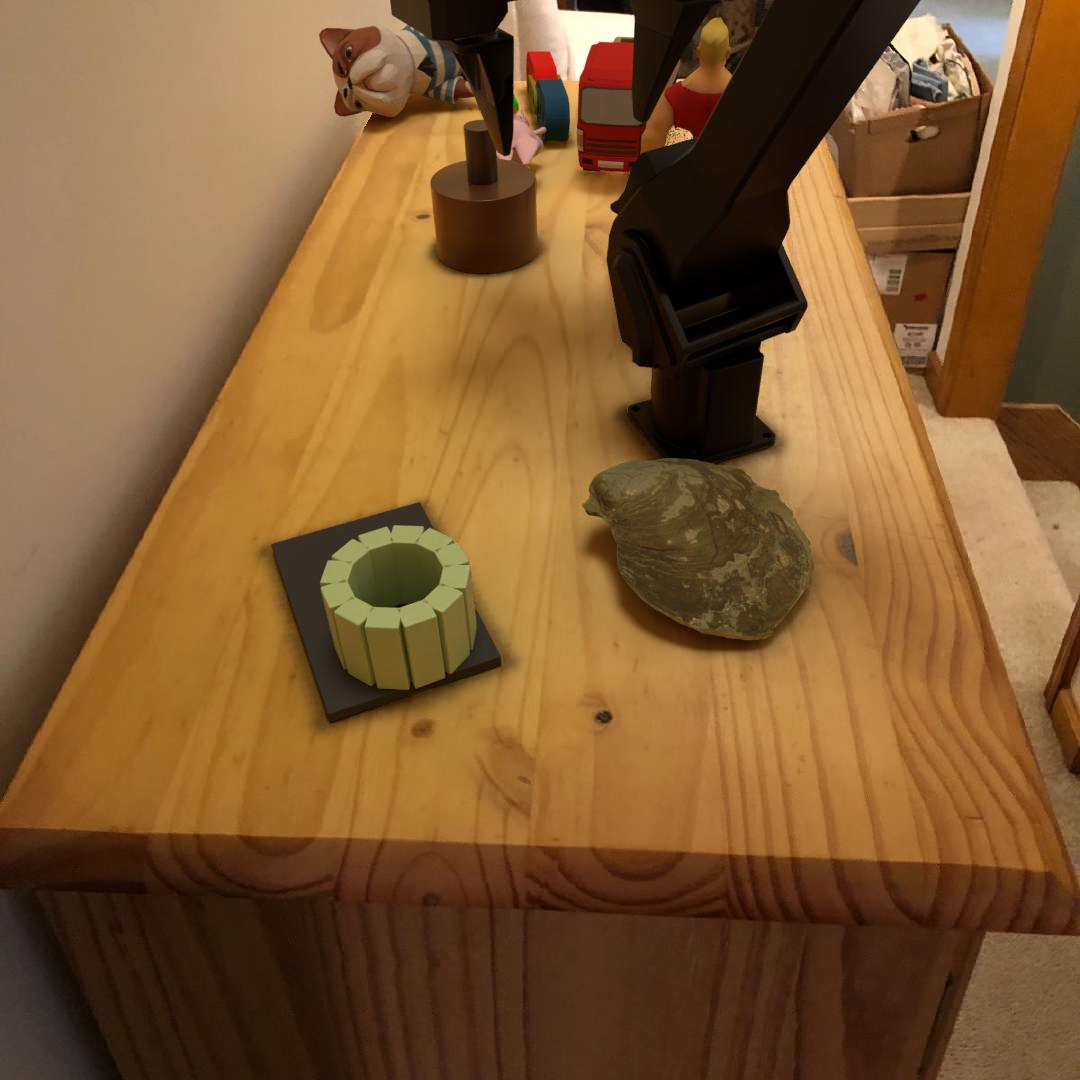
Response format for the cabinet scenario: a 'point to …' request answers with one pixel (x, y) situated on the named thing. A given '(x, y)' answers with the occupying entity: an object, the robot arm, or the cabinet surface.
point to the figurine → (390, 69)
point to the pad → (301, 579)
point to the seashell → (704, 544)
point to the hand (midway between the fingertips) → (573, 136)
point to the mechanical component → (547, 96)
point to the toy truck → (609, 108)
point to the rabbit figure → (523, 139)
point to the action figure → (692, 90)
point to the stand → (484, 208)
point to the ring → (407, 632)
